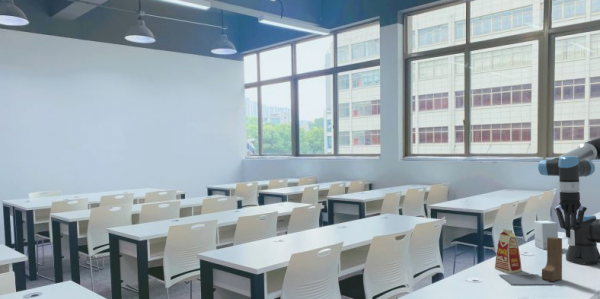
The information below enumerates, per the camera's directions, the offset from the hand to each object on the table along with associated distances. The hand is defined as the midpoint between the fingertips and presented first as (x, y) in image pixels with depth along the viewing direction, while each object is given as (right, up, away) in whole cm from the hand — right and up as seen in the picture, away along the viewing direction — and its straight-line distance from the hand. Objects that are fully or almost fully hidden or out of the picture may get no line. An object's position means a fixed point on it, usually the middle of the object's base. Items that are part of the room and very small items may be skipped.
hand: (571, 244), depth 186 cm
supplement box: (+24, -15, +59) cm, 65 cm away
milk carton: (-18, -16, +19) cm, 31 cm away
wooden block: (-8, -16, +1) cm, 18 cm away
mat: (-19, -16, +2) cm, 25 cm away
